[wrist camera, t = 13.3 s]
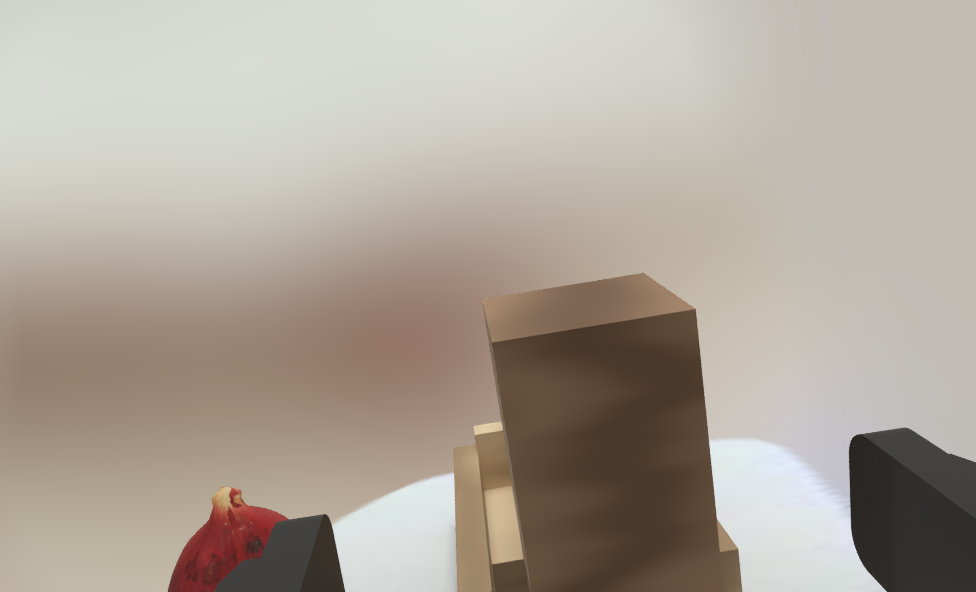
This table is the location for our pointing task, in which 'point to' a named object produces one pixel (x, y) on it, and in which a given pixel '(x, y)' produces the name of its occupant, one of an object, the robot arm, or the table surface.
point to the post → (606, 437)
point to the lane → (511, 521)
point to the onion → (223, 542)
